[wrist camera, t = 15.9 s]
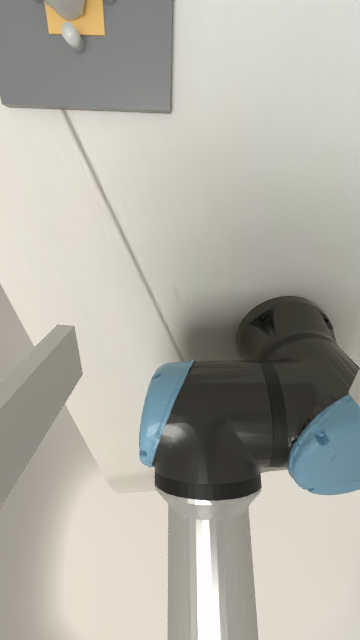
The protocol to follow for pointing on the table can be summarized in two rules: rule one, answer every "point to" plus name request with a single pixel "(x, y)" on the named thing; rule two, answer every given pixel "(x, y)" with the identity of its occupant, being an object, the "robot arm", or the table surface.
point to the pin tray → (87, 56)
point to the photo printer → (67, 8)
